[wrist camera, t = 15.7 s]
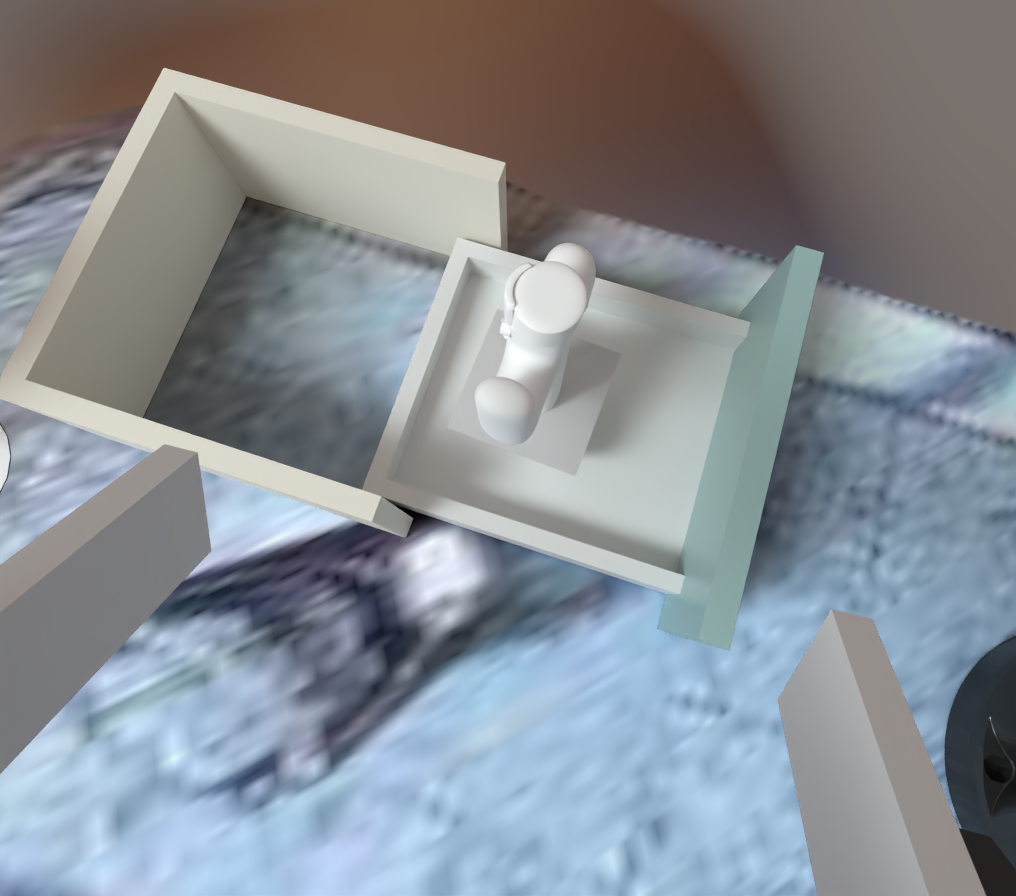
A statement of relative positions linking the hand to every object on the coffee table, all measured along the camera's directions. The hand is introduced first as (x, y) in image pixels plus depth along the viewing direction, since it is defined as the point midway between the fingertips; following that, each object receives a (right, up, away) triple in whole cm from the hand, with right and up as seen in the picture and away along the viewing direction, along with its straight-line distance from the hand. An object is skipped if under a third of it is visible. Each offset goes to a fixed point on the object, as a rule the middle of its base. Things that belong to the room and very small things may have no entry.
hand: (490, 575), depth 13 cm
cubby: (-12, +9, +26) cm, 30 cm away
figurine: (+2, +5, +24) cm, 25 cm away
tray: (+4, +4, +25) cm, 26 cm away
